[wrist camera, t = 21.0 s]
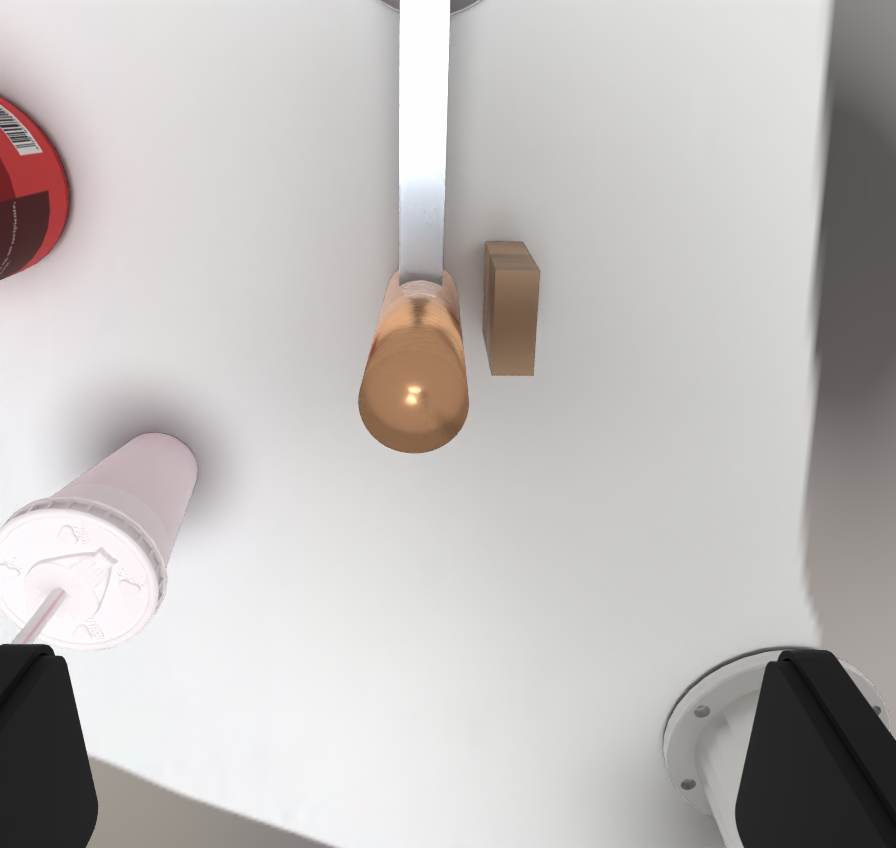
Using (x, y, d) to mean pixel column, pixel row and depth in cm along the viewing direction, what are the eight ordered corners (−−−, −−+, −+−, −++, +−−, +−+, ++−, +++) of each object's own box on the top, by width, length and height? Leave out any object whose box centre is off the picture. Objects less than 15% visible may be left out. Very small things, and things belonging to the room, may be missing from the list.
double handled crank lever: (456, 328, 33) (466, 454, 21) (387, 326, 33) (359, 452, 21) (472, -148, 26) (500, -347, 15) (385, -151, 26) (344, -353, 14)
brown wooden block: (518, 331, 34) (533, 375, 29) (482, 330, 34) (491, 375, 29) (522, 241, 33) (539, 270, 27) (485, 241, 33) (495, 270, 27)
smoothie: (64, 457, 37) (-139, 652, 24) (156, 379, 35) (-6, 542, 22) (162, 546, 39) (24, 770, 26) (253, 476, 37) (155, 677, 24)
